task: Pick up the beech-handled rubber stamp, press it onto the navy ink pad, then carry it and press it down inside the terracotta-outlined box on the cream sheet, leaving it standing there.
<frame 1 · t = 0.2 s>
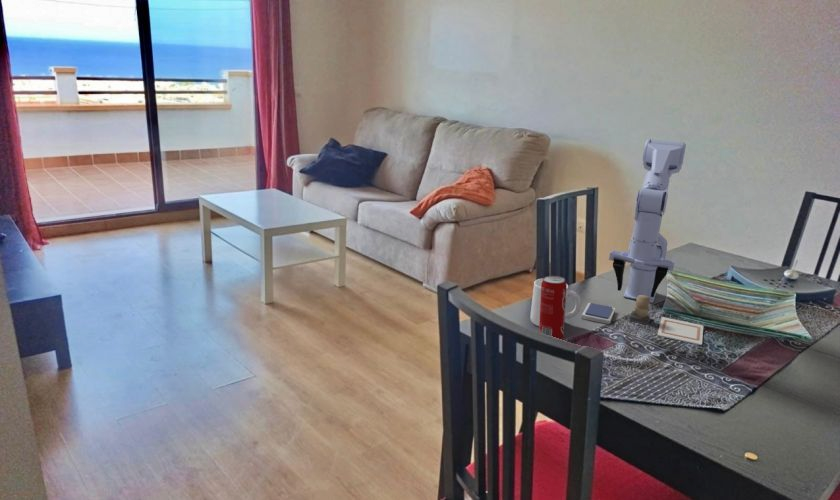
hand: (635, 292, 147), 10 cm above the table, fingers open, 7 cm apart
ink pad: (598, 314, 158), on the table
beverage can: (548, 338, 144), on the table
mug: (553, 323, 152), on the table
sheet: (680, 331, 151), on the table
stamp: (639, 319, 157), on the table
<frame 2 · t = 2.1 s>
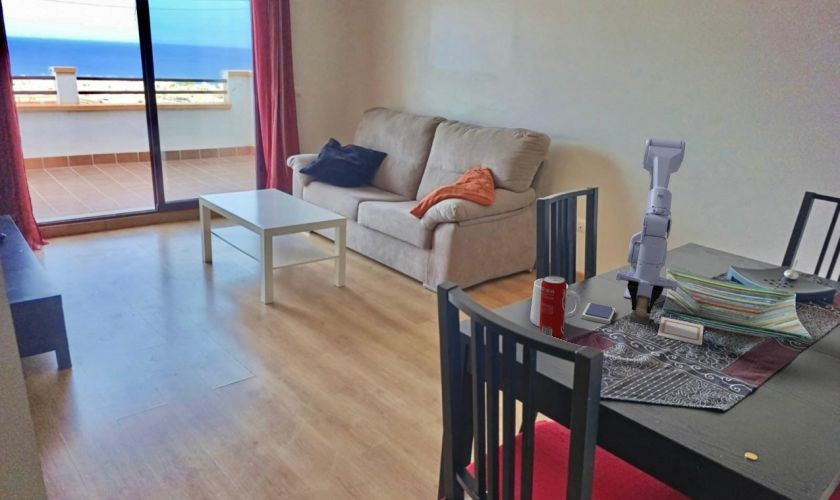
hand: (641, 310, 156), 2 cm above the table, fingers closed on stamp, 3 cm apart
stamp: (639, 319, 157), on the table, touching gripper
everything else where it was.
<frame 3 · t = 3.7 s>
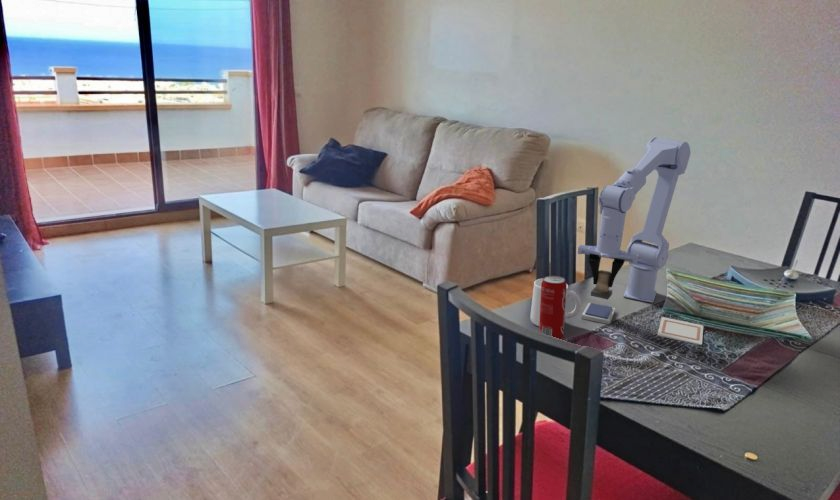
hand: (602, 284, 155), 9 cm above the table, fingers closed on stamp, 3 cm apart
stamp: (601, 295, 156), point 6 cm above the table, touching gripper
everything else where it was.
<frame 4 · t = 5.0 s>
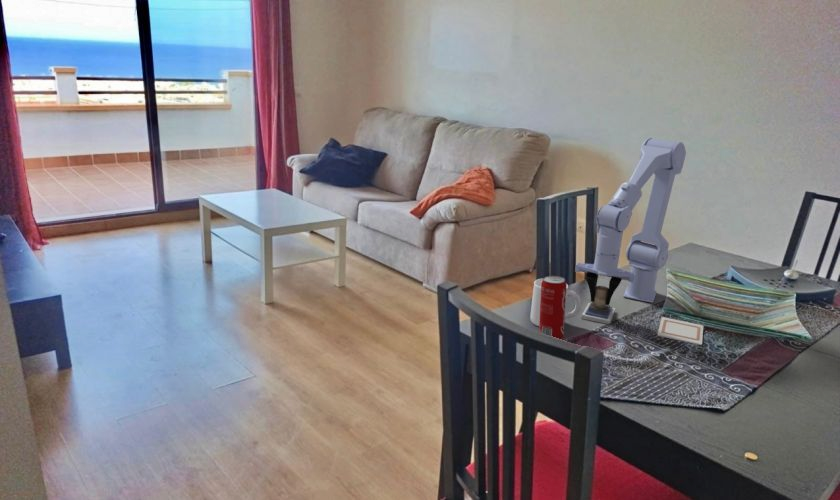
hand: (600, 302, 157), 4 cm above the table, fingers closed on stamp, 3 cm apart
stamp: (598, 310, 158), point 1 cm above the table, touching gripper, ink pad
everything else where it was.
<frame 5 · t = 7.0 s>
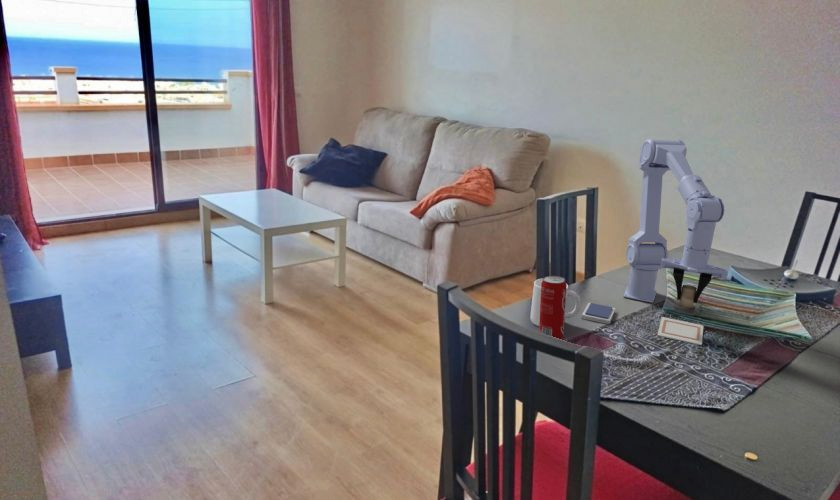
hand: (686, 300, 148), 8 cm above the table, fingers closed on stamp, 3 cm apart
stamp: (684, 310, 149), point 6 cm above the table, touching gripper
everything else where it was.
when the fingers open (3 cm above the table, at t = 8.3 s): stamp stays where it is, resting on sheet.
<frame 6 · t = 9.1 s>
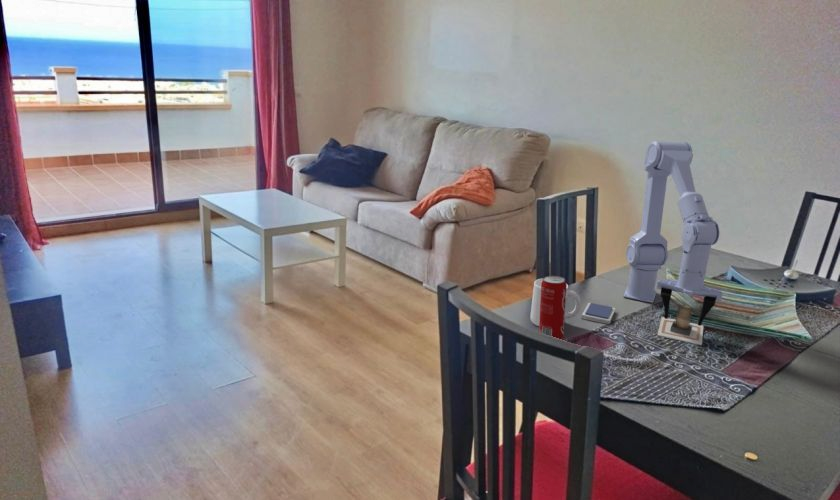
hand: (682, 320, 150), 3 cm above the table, fingers open, 7 cm apart
stamp: (680, 330, 151), resting on sheet
everything else where it was.
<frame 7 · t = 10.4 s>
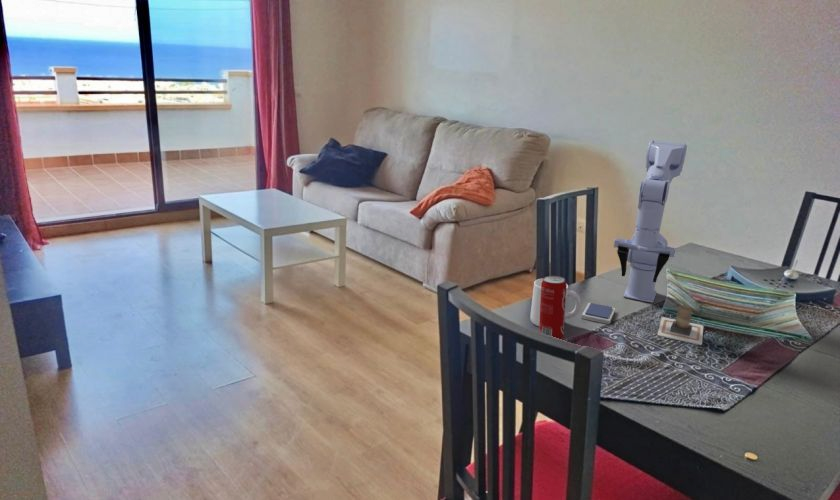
hand: (638, 278, 156), 10 cm above the table, fingers open, 7 cm apart
nothing on the table moved.
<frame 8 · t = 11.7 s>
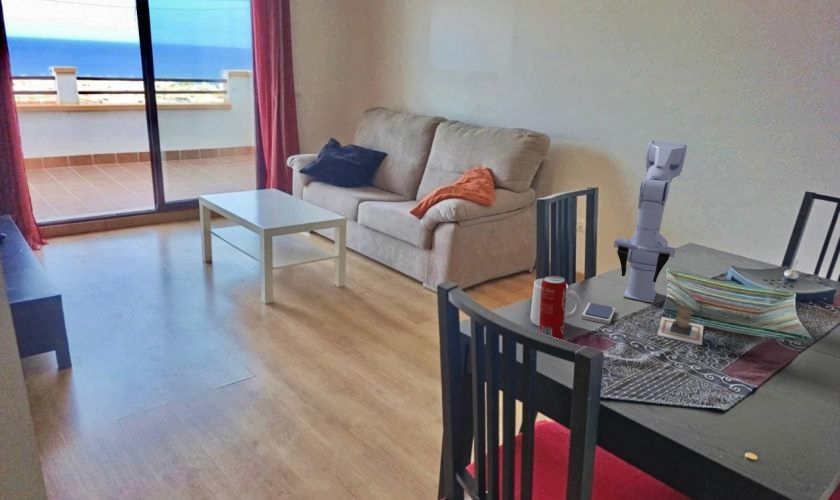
hand: (638, 278, 156), 10 cm above the table, fingers open, 7 cm apart
nothing on the table moved.
at the end: stamp inside the target area on the sheet (0.3 cm from its centre), point 0.3 cm above the sheet's base; stamp tilted 0°; the gripper is holding nothing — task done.
